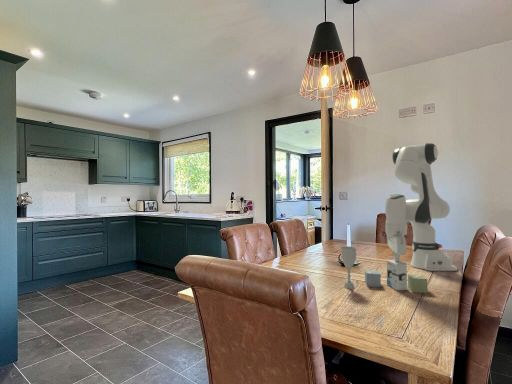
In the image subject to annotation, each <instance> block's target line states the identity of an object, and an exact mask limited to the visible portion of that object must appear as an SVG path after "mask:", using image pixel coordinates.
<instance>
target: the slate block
mask: <svg viewBox="0 0 512 384" xmlns="http://www.w3.org/2000/svg"><path fill="white" fill-rule="evenodd" d="M381 277H382V275H381V272H380V271H379V270H375V269H374V270H371V269H365V270H364V283H365V285H366V287H375V288H382V287H381V285H382V284H381V283H382V282H381V281H382V280H381V279H382V278H381Z"/></svg>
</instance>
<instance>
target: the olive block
mask: <svg viewBox="0 0 512 384" xmlns="http://www.w3.org/2000/svg"><path fill="white" fill-rule="evenodd" d="M407 289H409V290H410V291H411V292H412V293H424V294H427V293H428V278H427V277H426V276H424V275H423V274H407Z"/></svg>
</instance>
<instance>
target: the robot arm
mask: <svg viewBox="0 0 512 384" xmlns="http://www.w3.org/2000/svg"><path fill="white" fill-rule="evenodd" d="M438 155H439V151H438V148H437V146H436V144H434V143H429V142H427V143H419V144H413V145H407V146H403V147H398V148H396V149H394V151H393V152H392V157H391V158H392V162H393V164H394V165H395V166H394V175H395V177H396V178H397V179H398V180H399V181H400V182H403V184H408V185H410V189H411V191H412V192H414V193H415V194H417V195H418V197H419V198H410V199H406V196H405V195H404V194H400V193H399V194H389V195H388V196H386V200H385V206H384V207H385V210H384V211H385V212H384V213H385V214H384V215H385V226H384V231H385V235H386V242H387V247H388V248H390V249H391V250H392V254H393V260H395V261H400V258H401V256H406V254H407V241H406V237H405V236H406V235H408V223H410V224H411V228H412V236H413V237H412V239H413V240H412V244H411V247H412V258H411V262H410V266H411V267H413V268H416V269H421V270H425V271H435V272H436V271H437V272H438V271H440V272H441V271H442V272H444V271H445V272H448V271H450V272H454V271H457V270H458V269H457V266H456V265H453V263H452V259H451V257H450V256H448V254H446V253H445V252H443V251H442V250H441V249H442V248H443V245H442V244H441V243H437V242H436V230H435V227H434V226H432V225H431V224H429V222H430V221H431V220H432V219H434V220H435V219H444V218H446V217H448V215H449V214H450V211H451V210H450V205H449V203H448V202H447V201H446V200H444V199H443V198H442V197H440V196H439V195H438V193H437V191H436V189H435V187H434V182H433V174H432V172H433V171H432V167H431V165H432V164H433V163H434V162H435V161H436V160H437V158H438Z"/></svg>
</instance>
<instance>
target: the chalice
mask: <svg viewBox="0 0 512 384" xmlns="http://www.w3.org/2000/svg"><path fill="white" fill-rule="evenodd" d="M340 249H341V260H342V262H343V264H344V266H345V268H347V276H346V277H347V280H346V281H345V282H344V284H343V288H345V289H347V290H348V289H349V290H354V289H355V288H356V286H355V284H354V282H353V281H351V277H352V276H351V273H352V272H351V269H352V268H353V267H354V265H355V262H356V260H357V249H358V248H357V247H355V246H340Z"/></svg>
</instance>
